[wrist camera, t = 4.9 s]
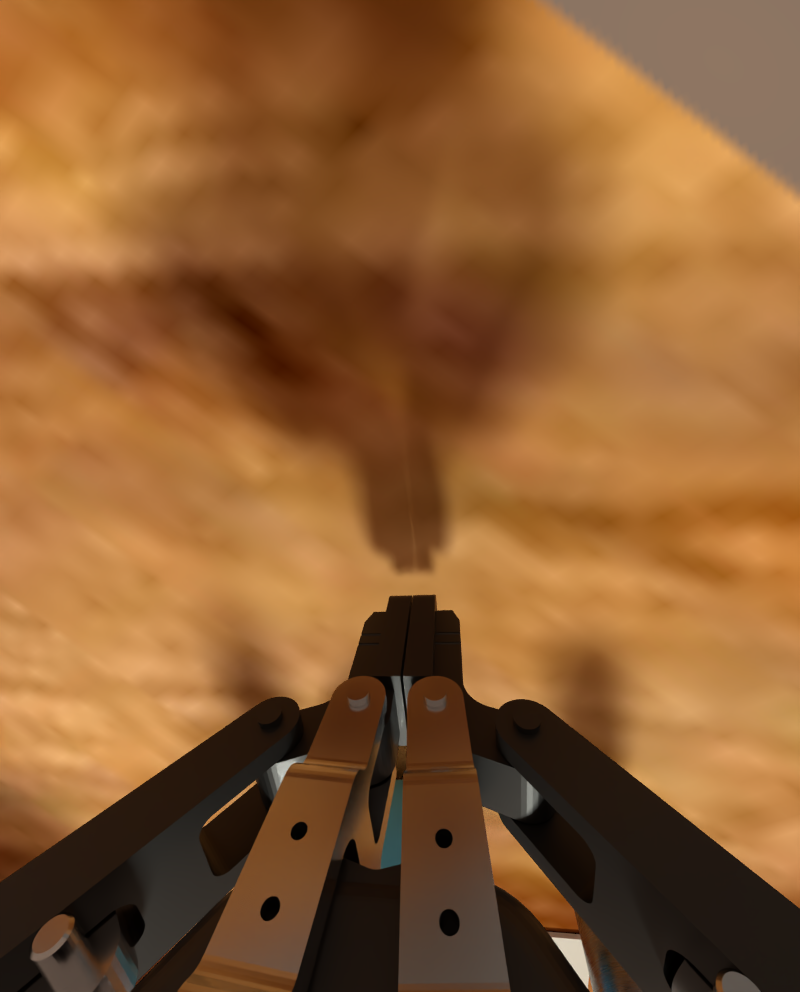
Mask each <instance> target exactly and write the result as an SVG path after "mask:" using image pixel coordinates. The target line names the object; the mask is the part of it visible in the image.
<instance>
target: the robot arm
mask: <svg viewBox="0 0 800 992" xmlns="http://www.w3.org/2000/svg"><path fill="white" fill-rule="evenodd" d="M398 746H407V754H406V771H404V774H403V799H402V843H401V864H399V865H395V866H391V867H387V868H383V869H381V856H382V850H383V844H384V839H385V834H386V828H387V823H388V818H389V813H390V807H391V802H392V797H393V792H394V786H395V781H396V775H397V771H396V762H397V755H398ZM255 780H256V782H257V784H255V785H254V786H253V787H252V788H251V789H249V790H248V791H247V792H246V793H245V794H243V795H242V796H241V797H240V798H239V799H237V800H236V801H235V802H234V803H233V804H231V805H230V806H229V807H228V808H226V809H225V810H224V811H223V812H222V813H220V814H219V815H218V816H217V817H216V818H214V819H213V820H212V821H211V822H210V823H208V824H207V825H206V826H204V824H205V823H206V821H207V820H208V819H209V818H210V817H211V816H212V815H213V814H215V813H216V812H217V811H218V810H219V809H221V808H222V807H223V806H224V805H226V804H227V803H228V802H229V801H230V800H232V799H233V798H234V797H235V796H237V795H238V794H239V793H240V792H241V791H243V790H244V789H245V788H246V787H247V786H249V785H250V784H251V783H252V782H254V781H255ZM482 806H483V807H486V808H488V809H491V810H493V811H496V812H498V813H499V816H500V818H501V820H502V822H503V824H504V825H505V826H506V828H507V829H508V830H509V831H510V833H511V834H512V835H513V836H514V837H515V839H516V840H517V841H518V842H519V843H520V845H521V846H522V847H523V848H524V850H525V851H526V852H527V853H528V854H529V856H530V857H531V858H532V859H533V860H534V862H535V863H536V864H537V865H538V866H539V868H540V869H541V870H542V871H543V872H544V874H545V875H546V876H547V877H548V878H549V880H550V881H551V882H552V883H553V884H554V886H555V887H556V888H557V889H558V890H559V892H560V893H561V894H562V895H563V896H564V898H565V899H566V900H567V901H568V902H569V904H570V905H571V906H572V907H573V909H574V910H575V911H576V912H577V913H578V915H579V916H580V917H581V918H582V919H583V921H584V922H585V923H586V924H587V925H588V927H589V928H590V929H591V930H592V931H593V933H594V934H595V935H596V936H597V937H598V939H599V940H600V941H601V942H602V943H603V945H604V946H605V947H606V948H607V949H608V951H609V952H610V953H611V954H612V955H613V957H614V958H615V959H616V960H617V962H618V963H619V964H620V965H621V966H622V968H623V969H624V970H625V971H626V972H627V974H628V975H629V976H630V977H631V978H632V980H633V981H634V982H635V983H636V984H637V986H638V987H639V988H640V989H641V990H642V992H800V909H799V908H798V907H797V906H796V905H794V904H793V903H792V902H791V901H789V900H788V899H787V898H786V897H784V896H783V895H782V894H781V893H779V892H778V891H777V890H776V889H774V888H773V887H772V886H771V885H769V884H768V883H767V882H765V881H764V880H763V879H762V878H760V877H759V876H758V875H757V874H755V873H754V872H753V871H752V870H750V869H749V868H748V867H747V866H745V865H744V864H743V863H742V862H740V861H739V860H738V859H737V858H735V857H734V856H733V855H731V854H730V853H729V852H728V851H726V850H725V849H724V848H723V847H721V846H720V845H719V844H718V843H716V842H715V841H714V840H713V839H711V838H710V837H709V836H708V835H706V834H705V833H704V832H702V831H701V830H700V829H699V828H697V827H696V826H695V825H694V824H692V823H691V822H690V821H689V820H687V819H686V818H685V817H684V816H682V815H681V814H680V813H679V812H677V811H676V810H675V809H674V808H672V807H671V806H670V805H668V804H667V803H666V802H665V801H663V800H662V799H661V798H660V797H658V796H657V795H656V794H655V793H653V792H652V791H651V790H650V789H648V788H647V787H646V786H645V785H643V784H642V783H641V782H639V781H638V780H637V779H636V778H634V777H633V776H632V775H631V774H629V773H628V772H627V771H626V770H624V769H623V768H622V767H621V766H619V765H618V764H617V763H616V762H614V761H613V760H612V759H611V758H609V757H608V756H607V755H605V754H604V753H603V752H602V751H600V750H599V749H598V748H597V747H595V746H594V745H593V744H592V743H590V742H589V741H588V740H587V739H585V738H584V737H583V736H582V735H580V734H579V733H578V732H577V731H575V730H574V729H573V728H571V727H570V726H569V725H568V724H566V723H565V722H564V721H563V720H561V719H560V718H559V717H558V716H556V715H555V714H554V713H553V712H551V711H550V710H549V709H548V708H546V707H545V706H543V705H541V704H539V703H537V702H534V701H531V700H525V699H517V700H512V701H509V702H507V703H505V704H504V705H502V706H501V707H500V708H499V710H498V709H495V708H492V707H488V706H485V705H483V704H481V703H479V702H477V701H476V700H474V699H473V698H472V697H471V696H470V695H469V694H468V693H467V691H466V690H465V688H464V685H463V673H462V655H461V638H460V621H459V619H458V618H457V616H456V615H455V613H454V612H453V611H452V610H441V611H437V603H436V595H414V596H413V597H412V596H390V597H389V601H388V605H387V610H386V612H374V613H373V614H372V615H371V616H370V617H369V618H368V619H367V620H366V622H365V624H364V627H363V630H362V636H361V637H360V641H359V646H358V647H357V651H356V654H355V658H354V661H353V664H352V668H351V671H350V675H349V678H348V680H346V681H344V682H343V683H342V684H340V685H339V686H338V687H337V688H336V690H335V691H334V693H333V695H332V697H331V700H330V701H328V702H326V703H323V704H320V705H317V706H313V707H310V708H306V709H302V710H299V706H298V704H297V703H296V702H295V701H294V700H293V699H290V698H287V697H274V698H270V699H268V700H265V701H263V702H261V703H260V704H258V705H256V706H255V707H253V708H252V709H251V710H249V711H248V712H246V713H245V714H243V715H242V716H240V717H239V718H238V719H236V720H235V721H233V722H232V723H230V724H229V725H227V726H226V727H225V728H223V729H222V730H220V731H219V732H217V733H216V734H214V735H213V736H211V737H210V738H209V739H207V740H206V741H204V742H203V743H201V744H200V745H198V746H197V747H196V748H194V749H193V750H191V751H190V752H188V753H187V754H185V755H184V756H183V757H181V758H180V759H178V760H177V761H175V762H174V763H172V764H171V765H169V766H168V767H167V768H165V769H164V770H162V771H161V772H159V773H158V774H156V775H155V776H154V777H152V778H151V779H149V780H148V781H146V782H145V783H143V784H142V785H141V786H139V787H138V788H136V789H135V790H133V791H132V792H130V793H129V794H128V795H126V796H125V797H123V798H122V799H120V800H119V801H117V802H116V803H114V804H113V805H112V806H110V807H109V808H107V809H106V810H104V811H103V812H101V813H100V814H99V815H97V816H96V817H94V818H93V819H91V820H90V821H88V822H87V823H86V824H84V825H83V826H81V827H80V828H78V829H77V830H75V831H74V832H72V833H71V834H70V835H68V836H67V837H65V838H64V839H62V840H61V841H59V842H58V843H57V844H55V845H54V846H52V847H51V848H49V849H48V850H46V851H45V852H44V853H42V854H41V855H39V856H38V857H36V858H35V859H33V860H32V861H31V862H29V863H28V864H26V865H25V866H23V867H22V868H20V869H19V870H17V871H16V872H15V873H13V874H12V875H10V876H9V877H7V878H6V879H4V880H3V881H2V882H0V992H590V991H589V990H588V988H587V987H586V986H585V984H584V983H583V981H582V980H581V979H580V977H579V976H578V974H577V973H576V972H575V970H574V969H573V967H572V966H571V964H570V963H569V962H568V960H567V959H566V957H565V956H564V955H563V953H562V952H561V950H560V949H559V947H558V946H557V945H556V943H555V942H554V940H553V939H552V938H551V936H550V935H549V934H548V932H547V931H546V930H545V928H544V927H543V926H542V924H541V923H540V922H539V921H538V920H537V919H536V917H535V916H534V915H533V914H532V913H531V912H530V911H529V910H528V909H527V908H526V907H525V906H524V905H523V904H522V903H520V902H519V901H518V900H517V899H516V898H514V897H513V896H512V895H510V894H509V893H508V892H506V891H505V890H503V889H501V888H499V887H497V886H496V885H494V880H493V874H492V867H491V861H490V854H489V848H488V841H487V835H486V828H485V822H484V815H483V809H482ZM203 826H204V827H203ZM202 827H203V828H202ZM233 888H234V889H233ZM232 889H233V890H232ZM230 890H232V891H230ZM229 891H230V892H229ZM228 892H229V893H228ZM227 893H228V894H227ZM226 894H227V895H226ZM225 895H226V896H225ZM197 922H198V923H197ZM196 923H197V924H196ZM195 924H196V925H195ZM194 925H195V926H194ZM193 926H194V927H193ZM192 927H193V928H192ZM191 928H192V929H191ZM190 929H191V930H190ZM189 930H190V931H189ZM188 931H189V932H188ZM187 932H188V933H187ZM186 933H187V934H186ZM185 934H186V935H185ZM184 935H185V936H184ZM183 936H184V937H183ZM182 937H183V938H182ZM181 938H182V939H181ZM180 939H181V940H180ZM179 940H180V941H179ZM178 941H179V942H178ZM177 942H178V943H177ZM176 943H177V944H176ZM175 944H176V945H175ZM174 945H175V946H174ZM173 946H174V947H173ZM172 947H173V948H172ZM171 948H172V949H171ZM170 949H171V950H170ZM169 950H170V951H169ZM168 951H169V952H168ZM167 952H168V953H167ZM166 953H167V954H166ZM165 954H166V955H165ZM163 955H165V956H164V957H163V958H162V959H161V961H160V962H159V963H158V964H157V965H156V966H155V967H154V968H153V969H152V970H151V971H150V972H149V973H148V974H147V975H146V976H145V977H144V978H143V979H142V980H141V981H140V982H139V983H138V984H137V985H136V986H135V984H136V982H137V981H138V980H139V979H140V978H141V977H142V976H143V975H144V974H145V973H146V972H147V971H148V970H149V969H150V968H151V967H152V966H153V965H154V964H155V963H156V962H157V961H158V960H159V959H160V958H161V957H162V956H163Z"/></svg>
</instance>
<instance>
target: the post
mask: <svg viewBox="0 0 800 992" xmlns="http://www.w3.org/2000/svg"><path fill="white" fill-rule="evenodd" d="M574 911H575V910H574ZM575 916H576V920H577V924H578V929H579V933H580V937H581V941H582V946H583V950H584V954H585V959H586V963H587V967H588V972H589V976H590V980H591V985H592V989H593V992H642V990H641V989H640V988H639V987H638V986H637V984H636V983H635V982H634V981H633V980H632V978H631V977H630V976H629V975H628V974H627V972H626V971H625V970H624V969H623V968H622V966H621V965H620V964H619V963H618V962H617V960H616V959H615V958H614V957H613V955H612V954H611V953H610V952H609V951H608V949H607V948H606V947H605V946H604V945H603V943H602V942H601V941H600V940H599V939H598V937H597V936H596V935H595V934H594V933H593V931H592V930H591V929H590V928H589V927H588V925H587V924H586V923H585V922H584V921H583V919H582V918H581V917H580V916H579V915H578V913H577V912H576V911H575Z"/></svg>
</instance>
